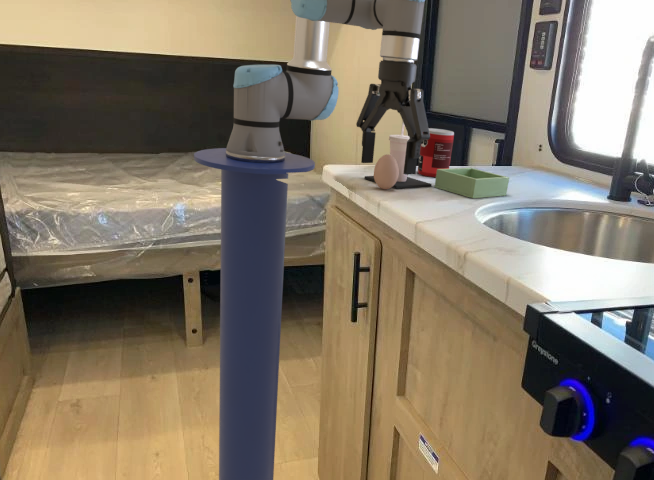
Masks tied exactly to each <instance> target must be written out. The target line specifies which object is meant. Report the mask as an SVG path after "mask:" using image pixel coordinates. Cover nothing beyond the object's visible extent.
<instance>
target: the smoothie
mask: <svg viewBox="0 0 654 480" xmlns="http://www.w3.org/2000/svg"><path fill="white" fill-rule="evenodd" d="M404 131H405V125H404V122H403V120H401V130H400V134H389V135H388V141H389V155H391V156H393V157H394V158H395V160H396V162H397V164H398V168H399V175H398V179H397V181H399V182H405V181H406V180H407V177H409V176H408V175H405V174H403V173H404V164H405V155H406V146H407V141H408V140H409V139H410V137H409V135H404Z"/></svg>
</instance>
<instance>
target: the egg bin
mask: <svg viewBox="0 0 654 480" xmlns="http://www.w3.org/2000/svg"><path fill="white" fill-rule="evenodd" d="M434 181H435V182H434V188H436V189H439V190H443V191H446V192H450V193H452V194H457V195H459V196H463V197H467V198H469V199H481V198H482V199H483V198H492V197H503V196H504V197H505V196H507V194H508V189H509V188H508V187H509V182H510V177H509V176H505V175H501V174H497V173H494V172H489V171H485V170H481V169H478V168H473V167H457V168H449V169H437V173H436V177H435V180H434Z"/></svg>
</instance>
